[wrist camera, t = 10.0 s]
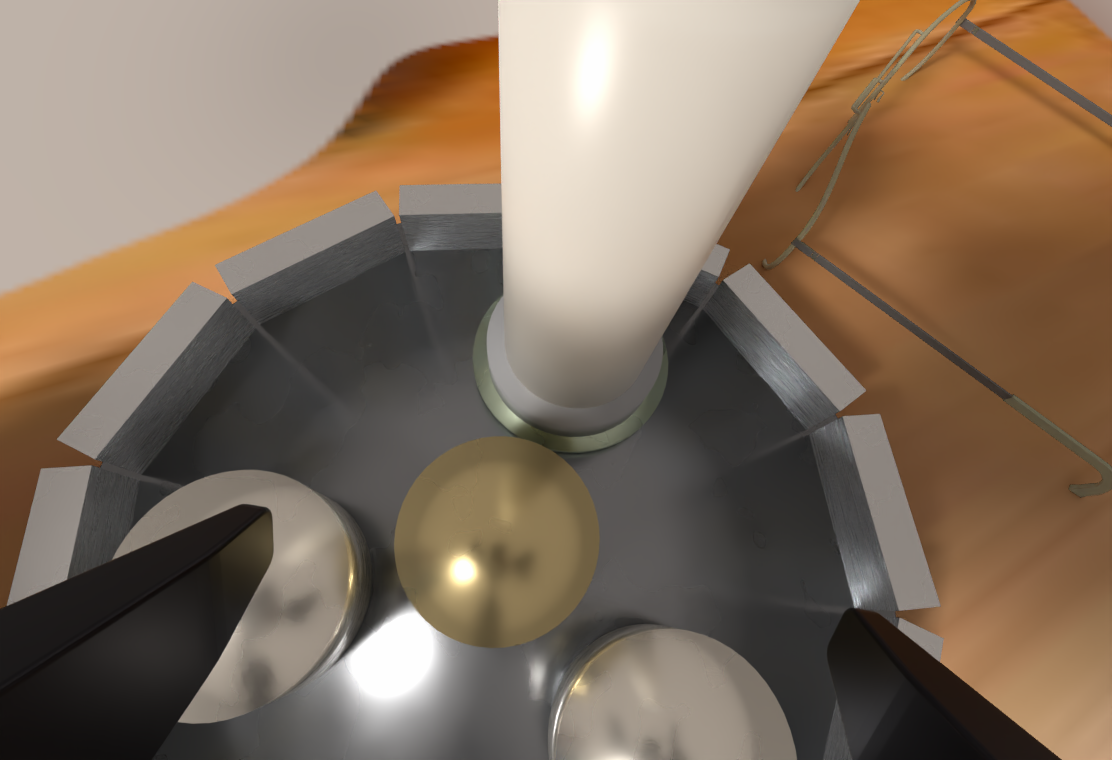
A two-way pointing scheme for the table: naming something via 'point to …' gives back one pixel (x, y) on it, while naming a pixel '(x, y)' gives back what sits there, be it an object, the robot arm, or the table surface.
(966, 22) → the eyeglasses
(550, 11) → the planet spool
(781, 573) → the carrier plate
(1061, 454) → the table surface
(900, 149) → the table surface
